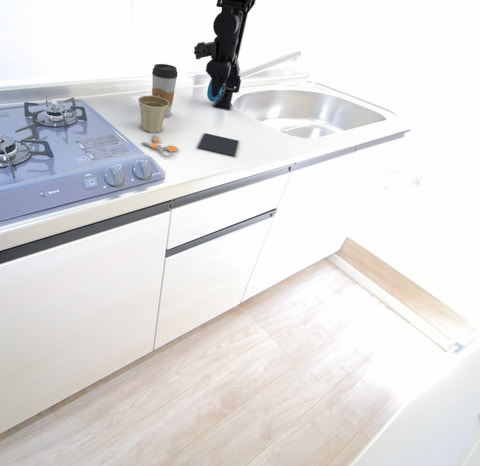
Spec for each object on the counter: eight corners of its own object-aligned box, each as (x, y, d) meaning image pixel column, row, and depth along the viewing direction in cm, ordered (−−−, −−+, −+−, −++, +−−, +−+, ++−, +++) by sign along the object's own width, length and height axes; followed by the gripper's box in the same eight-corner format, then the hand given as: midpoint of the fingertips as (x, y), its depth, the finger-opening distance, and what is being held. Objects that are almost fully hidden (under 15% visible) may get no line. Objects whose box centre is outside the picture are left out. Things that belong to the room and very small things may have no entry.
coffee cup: (145, 114, 112) (148, 66, 103) (155, 107, 119) (158, 61, 109) (167, 120, 111) (172, 72, 101) (176, 112, 117) (182, 67, 107)
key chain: (183, 153, 93) (183, 150, 93) (163, 158, 89) (163, 155, 89) (156, 135, 100) (157, 132, 100) (136, 139, 96) (137, 137, 96)
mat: (204, 134, 105) (204, 133, 105) (238, 142, 104) (238, 140, 104) (197, 148, 97) (198, 146, 97) (234, 156, 96) (234, 155, 95)
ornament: (215, 106, 97) (222, 70, 91) (201, 102, 98) (207, 66, 92) (226, 100, 103) (233, 65, 96) (213, 96, 104) (219, 62, 98)
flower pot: (172, 130, 105) (175, 103, 99) (151, 137, 99) (153, 109, 93) (151, 120, 109) (154, 93, 103) (130, 126, 103) (131, 98, 98)
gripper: (205, 24, 97) (197, 80, 107) (192, 32, 83) (183, 96, 93) (242, 31, 96) (230, 87, 106) (235, 40, 82) (221, 104, 92)
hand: (216, 93), depth 99 cm, fingers closed on ornament, 8 cm apart
